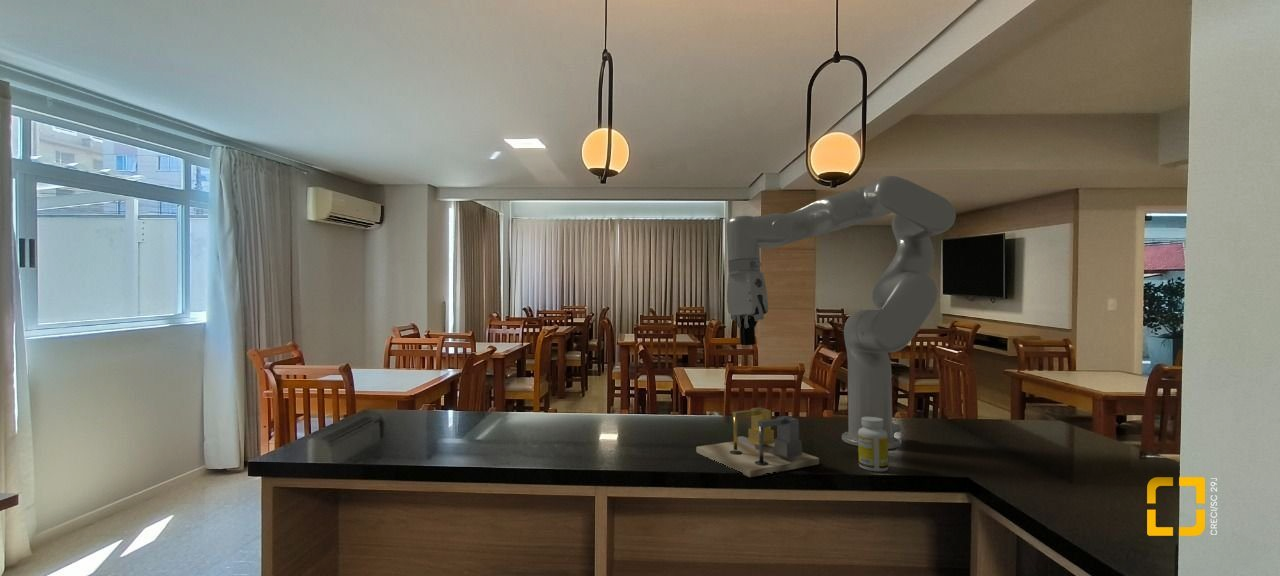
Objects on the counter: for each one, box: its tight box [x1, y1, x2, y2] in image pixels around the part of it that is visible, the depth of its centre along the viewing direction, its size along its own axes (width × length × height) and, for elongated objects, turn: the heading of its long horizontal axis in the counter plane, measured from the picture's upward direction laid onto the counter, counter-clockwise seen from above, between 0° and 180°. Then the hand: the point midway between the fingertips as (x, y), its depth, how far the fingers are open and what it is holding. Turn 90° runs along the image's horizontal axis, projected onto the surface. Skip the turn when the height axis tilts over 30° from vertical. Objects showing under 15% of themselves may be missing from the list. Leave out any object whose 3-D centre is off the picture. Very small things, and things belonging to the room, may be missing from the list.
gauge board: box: [695, 435, 820, 478], centre depth 104 cm, size 18×18×2 cm
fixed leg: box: [758, 415, 803, 463], centre depth 98 cm, size 9×4×8 cm, turn 117°
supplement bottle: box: [857, 417, 889, 473], centre depth 98 cm, size 5×5×10 cm
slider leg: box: [732, 407, 775, 450], centre depth 105 cm, size 9×4×8 cm, turn 117°
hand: (747, 344), depth 116 cm, fingers closed
